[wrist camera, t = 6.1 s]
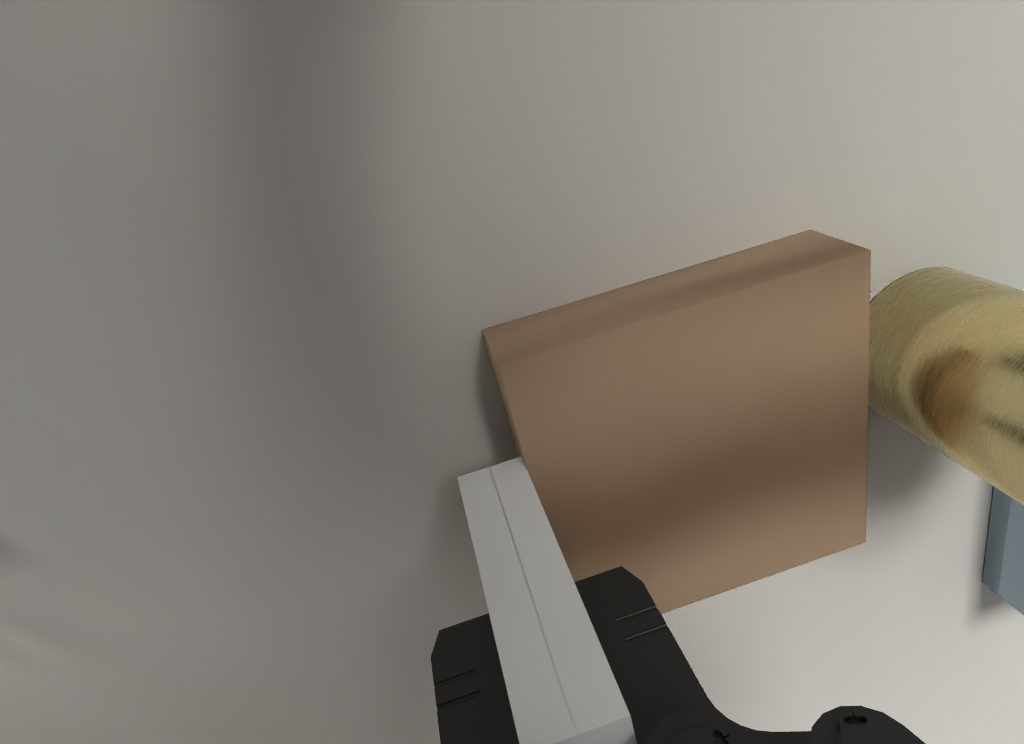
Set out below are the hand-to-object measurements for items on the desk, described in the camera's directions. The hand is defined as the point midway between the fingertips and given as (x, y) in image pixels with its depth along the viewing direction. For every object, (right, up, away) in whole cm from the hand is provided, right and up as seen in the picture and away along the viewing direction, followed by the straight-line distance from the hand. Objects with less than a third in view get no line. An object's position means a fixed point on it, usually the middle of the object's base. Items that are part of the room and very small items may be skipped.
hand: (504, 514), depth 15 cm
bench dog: (+11, +4, +2) cm, 12 cm away
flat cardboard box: (+4, +2, +2) cm, 5 cm away
